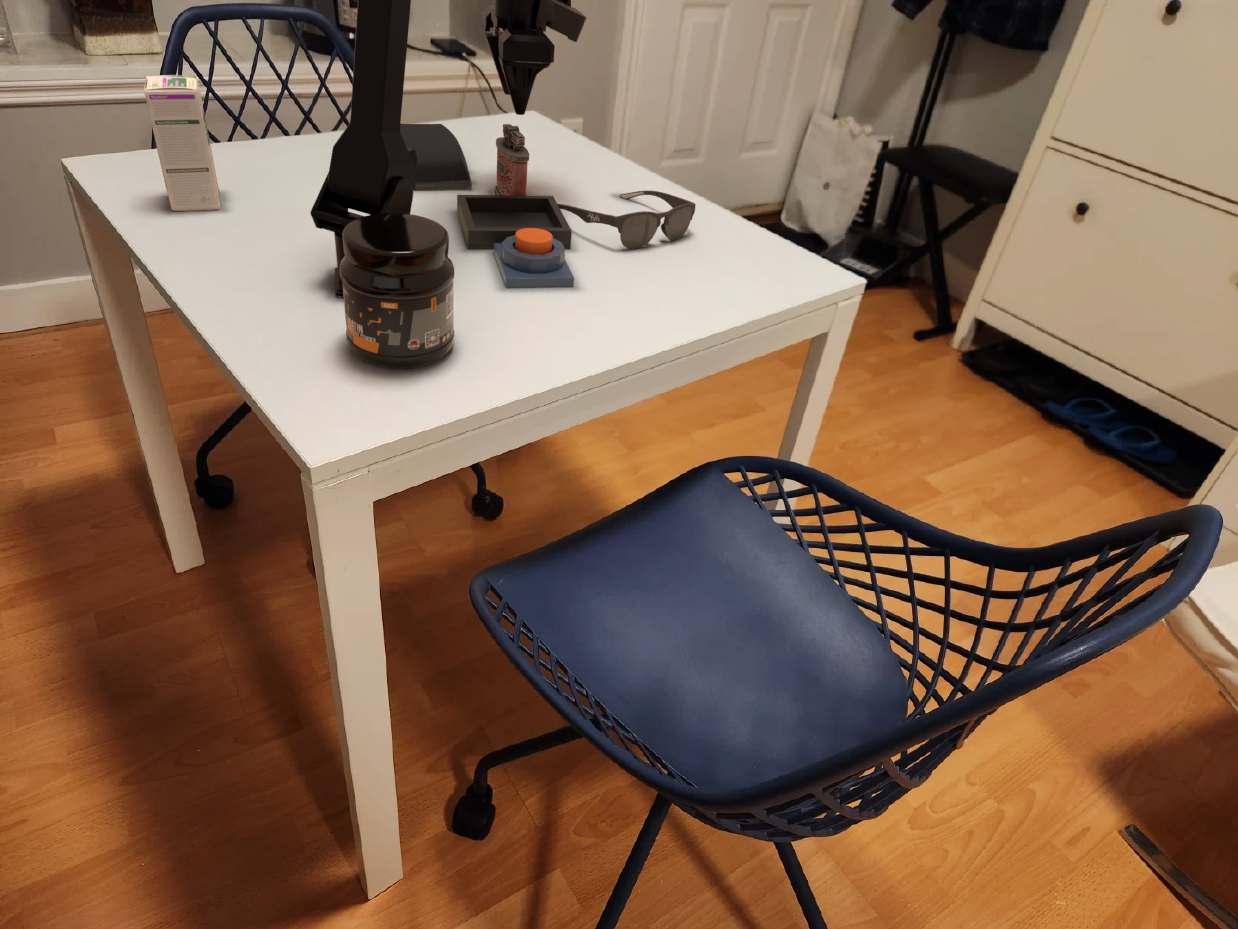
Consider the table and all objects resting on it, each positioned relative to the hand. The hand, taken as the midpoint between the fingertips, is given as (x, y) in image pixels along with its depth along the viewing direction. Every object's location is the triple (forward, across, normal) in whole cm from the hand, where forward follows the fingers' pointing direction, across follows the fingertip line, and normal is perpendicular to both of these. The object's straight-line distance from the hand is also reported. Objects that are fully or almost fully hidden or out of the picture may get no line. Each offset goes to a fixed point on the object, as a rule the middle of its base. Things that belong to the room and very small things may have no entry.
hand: (514, 103), depth 114 cm
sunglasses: (+13, -8, -14) cm, 21 cm away
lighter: (+13, 0, 0) cm, 13 cm away
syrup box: (+13, -2, +40) cm, 43 cm away
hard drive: (+13, +13, +12) cm, 22 cm away
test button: (+10, -23, +1) cm, 25 cm away
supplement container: (+13, -40, +18) cm, 46 cm away
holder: (+13, -11, +2) cm, 17 cm away
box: (+13, -22, +1) cm, 26 cm away
